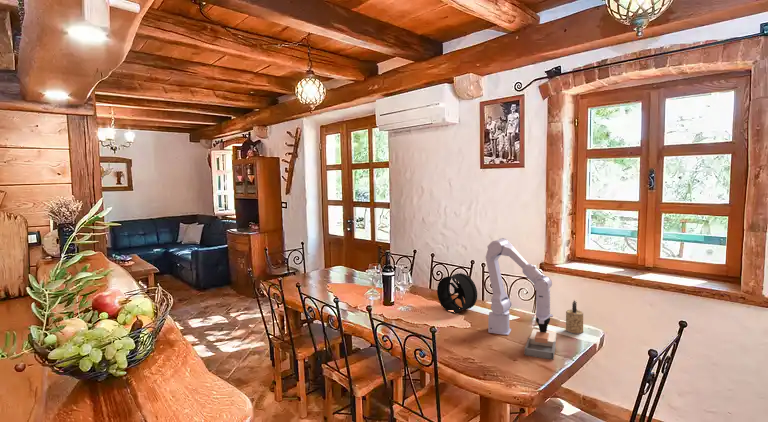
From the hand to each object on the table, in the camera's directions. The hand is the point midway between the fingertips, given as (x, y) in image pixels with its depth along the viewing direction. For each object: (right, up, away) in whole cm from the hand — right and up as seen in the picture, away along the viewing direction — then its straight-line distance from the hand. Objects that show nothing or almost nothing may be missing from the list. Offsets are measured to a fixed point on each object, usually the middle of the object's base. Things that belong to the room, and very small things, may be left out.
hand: (543, 334), depth 181 cm
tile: (-2, -1, -4) cm, 5 cm away
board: (0, -3, +1) cm, 3 cm away
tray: (-5, -4, -10) cm, 12 cm away
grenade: (+19, -2, +11) cm, 22 cm away
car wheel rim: (-30, -1, +44) cm, 54 cm away
